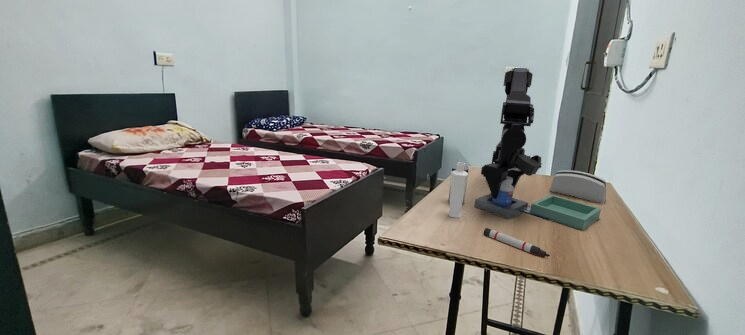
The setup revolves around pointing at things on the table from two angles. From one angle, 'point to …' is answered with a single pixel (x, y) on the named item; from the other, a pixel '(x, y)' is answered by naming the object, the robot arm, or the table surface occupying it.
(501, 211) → the gray square holder
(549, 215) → the tray
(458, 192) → the perfume bottle
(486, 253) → the table surface
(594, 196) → the napkin holder
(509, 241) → the marker
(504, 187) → the pill bottle
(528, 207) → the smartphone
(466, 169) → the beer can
